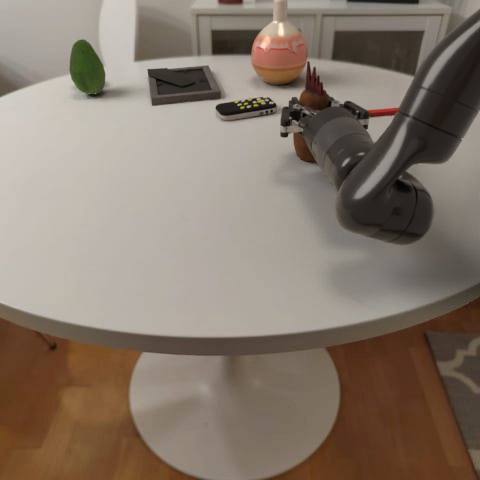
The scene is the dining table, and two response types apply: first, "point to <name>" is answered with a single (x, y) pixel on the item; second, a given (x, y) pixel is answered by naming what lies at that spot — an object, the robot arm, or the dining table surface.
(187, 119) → the dining table surface
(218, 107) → the remote control
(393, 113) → the red spoon
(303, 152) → the wooden figurine
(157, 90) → the picture frame
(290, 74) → the vase
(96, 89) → the avocado
